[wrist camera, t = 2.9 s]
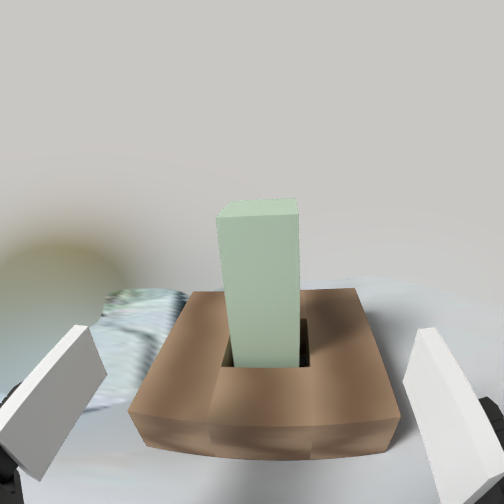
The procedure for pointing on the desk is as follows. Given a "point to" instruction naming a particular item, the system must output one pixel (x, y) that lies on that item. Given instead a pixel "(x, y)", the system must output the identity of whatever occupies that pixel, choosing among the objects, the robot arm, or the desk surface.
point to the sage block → (261, 281)
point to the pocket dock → (269, 388)
